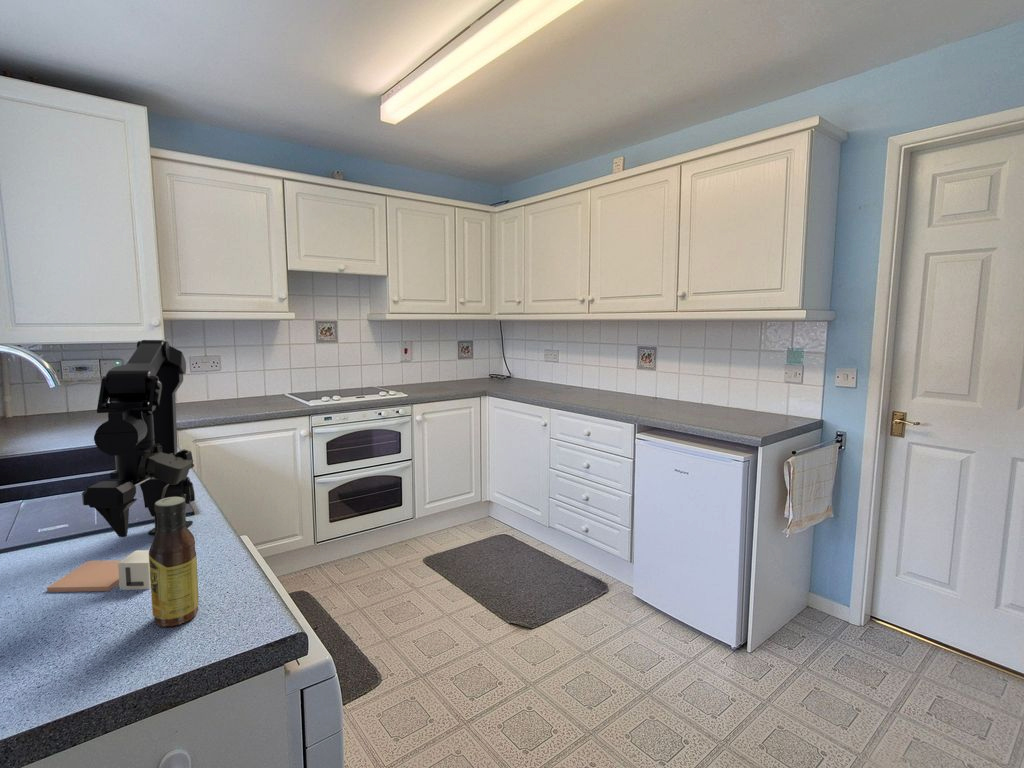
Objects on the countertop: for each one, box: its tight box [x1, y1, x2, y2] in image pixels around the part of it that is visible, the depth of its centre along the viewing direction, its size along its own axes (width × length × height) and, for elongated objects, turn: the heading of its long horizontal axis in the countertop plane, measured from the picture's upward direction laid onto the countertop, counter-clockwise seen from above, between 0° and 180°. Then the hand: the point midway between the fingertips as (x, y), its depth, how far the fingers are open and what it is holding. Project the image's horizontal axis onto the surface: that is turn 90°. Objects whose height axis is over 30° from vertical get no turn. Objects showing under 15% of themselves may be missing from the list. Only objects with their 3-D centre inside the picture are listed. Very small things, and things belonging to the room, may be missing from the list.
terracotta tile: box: [46, 559, 123, 593], centre depth 96 cm, size 10×10×1 cm
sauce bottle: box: [148, 497, 199, 628], centre depth 82 cm, size 6×6×20 cm
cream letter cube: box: [118, 549, 151, 591], centre depth 94 cm, size 5×5×5 cm
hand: (139, 526), depth 93 cm, fingers open, 9 cm apart
